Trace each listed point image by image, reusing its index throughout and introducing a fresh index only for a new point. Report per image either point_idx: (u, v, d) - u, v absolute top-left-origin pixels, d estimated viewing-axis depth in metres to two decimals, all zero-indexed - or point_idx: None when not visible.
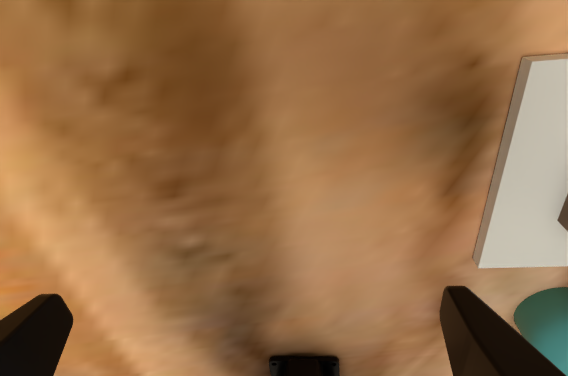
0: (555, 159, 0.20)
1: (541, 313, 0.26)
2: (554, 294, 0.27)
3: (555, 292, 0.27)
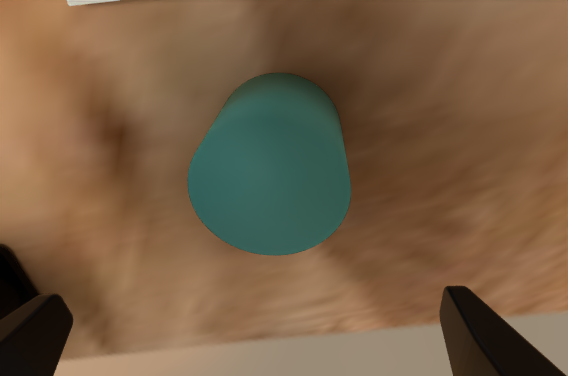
0: None
1: None
2: (252, 81, 0.15)
3: (256, 78, 0.15)
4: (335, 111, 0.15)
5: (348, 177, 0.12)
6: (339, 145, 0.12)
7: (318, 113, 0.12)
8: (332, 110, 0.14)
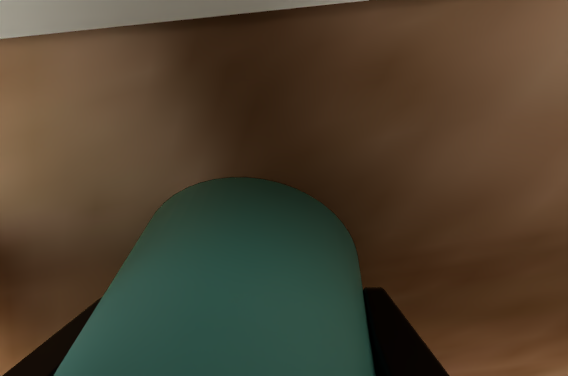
0: None
1: (122, 265, 0.07)
2: (188, 199, 0.07)
3: (197, 192, 0.08)
4: (350, 250, 0.08)
5: None
6: None
7: (317, 322, 0.05)
8: (345, 260, 0.07)
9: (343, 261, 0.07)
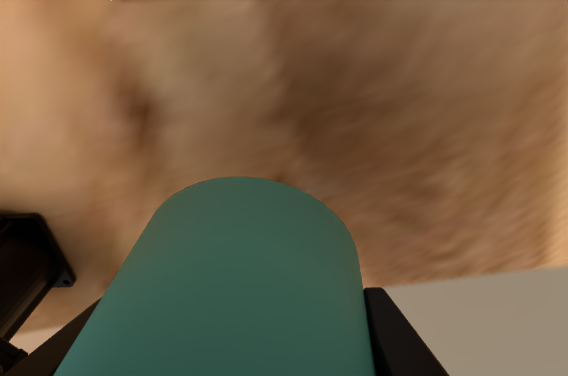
0: None
1: None
2: (188, 198, 0.07)
3: (197, 191, 0.08)
4: (350, 250, 0.08)
5: None
6: None
7: (317, 321, 0.05)
8: (346, 259, 0.07)
9: (343, 260, 0.07)
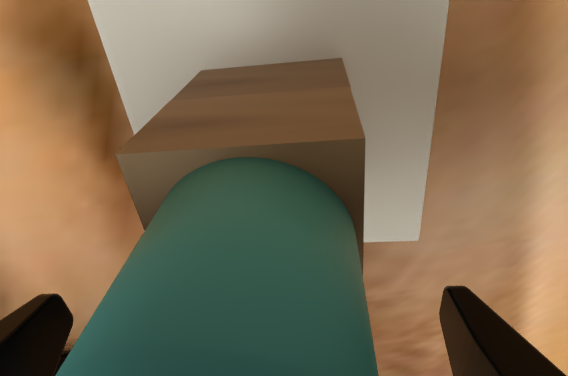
0: None
1: (143, 234, 0.08)
2: (201, 176, 0.08)
3: (209, 169, 0.08)
4: (348, 223, 0.09)
5: None
6: (364, 355, 0.06)
7: (318, 275, 0.06)
8: (343, 230, 0.08)
9: (341, 230, 0.08)
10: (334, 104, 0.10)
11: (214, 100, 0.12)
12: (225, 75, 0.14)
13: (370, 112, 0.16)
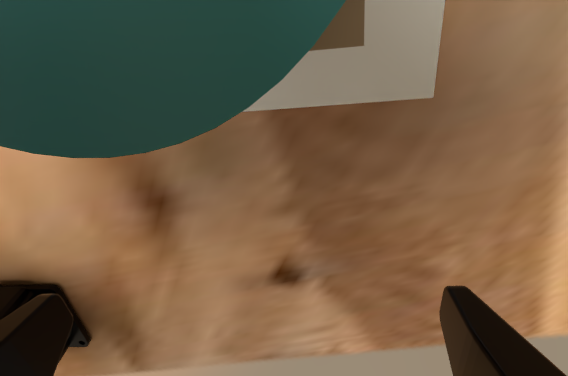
0: None
1: None
2: None
3: None
4: None
5: None
6: None
7: None
8: None
9: None
10: None
11: None
12: None
13: None
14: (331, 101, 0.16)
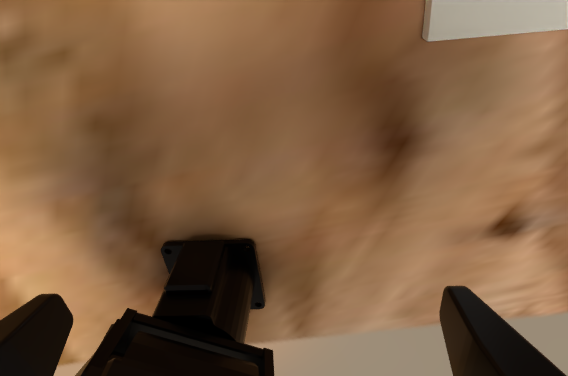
0: None
1: None
2: None
3: None
4: None
5: None
6: None
7: None
8: None
9: None
10: None
11: None
12: None
13: None
14: None
